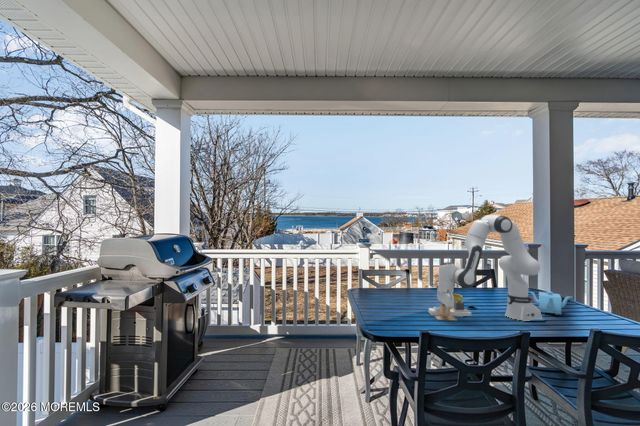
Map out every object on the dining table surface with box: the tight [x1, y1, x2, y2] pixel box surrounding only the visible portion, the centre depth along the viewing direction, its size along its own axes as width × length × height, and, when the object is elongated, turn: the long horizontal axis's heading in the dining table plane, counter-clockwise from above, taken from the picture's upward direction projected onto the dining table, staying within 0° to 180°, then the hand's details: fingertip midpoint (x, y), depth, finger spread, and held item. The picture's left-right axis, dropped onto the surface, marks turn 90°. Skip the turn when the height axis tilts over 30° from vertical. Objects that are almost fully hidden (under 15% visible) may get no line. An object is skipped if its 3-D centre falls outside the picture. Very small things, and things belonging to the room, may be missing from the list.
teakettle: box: [528, 290, 573, 315], centre depth 226 cm, size 25×25×15 cm
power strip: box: [427, 306, 472, 317], centre depth 216 cm, size 25×7×4 cm, turn 88°
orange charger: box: [439, 304, 450, 316], centre depth 207 cm, size 5×4×8 cm
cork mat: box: [433, 315, 459, 321], centre depth 207 cm, size 12×7×1 cm, turn 88°
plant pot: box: [450, 293, 464, 309], centre depth 229 cm, size 10×10×10 cm
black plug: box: [454, 299, 465, 310], centre depth 216 cm, size 5×4×8 cm
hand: (445, 311), depth 207 cm, fingers closed on orange charger, 4 cm apart
